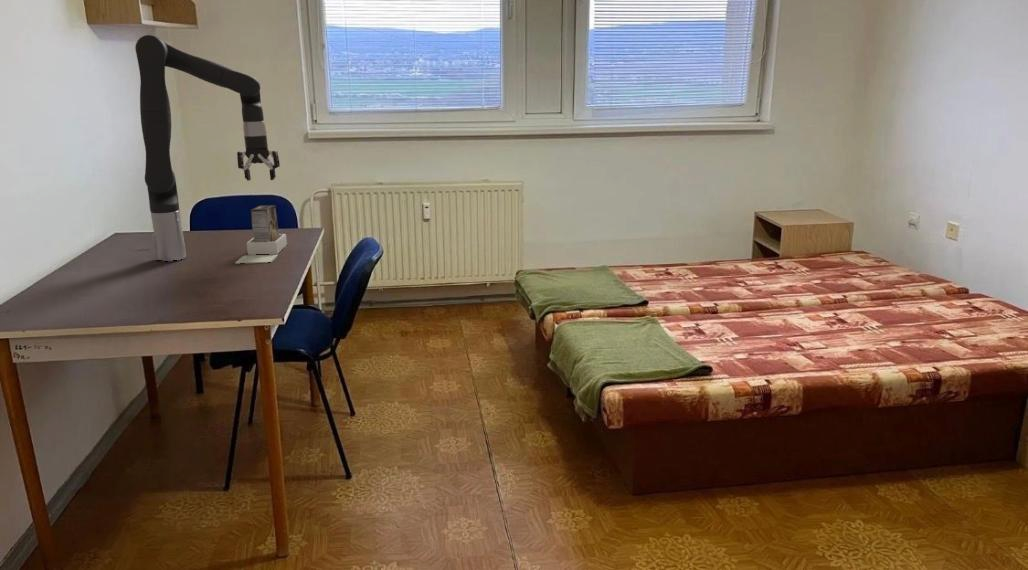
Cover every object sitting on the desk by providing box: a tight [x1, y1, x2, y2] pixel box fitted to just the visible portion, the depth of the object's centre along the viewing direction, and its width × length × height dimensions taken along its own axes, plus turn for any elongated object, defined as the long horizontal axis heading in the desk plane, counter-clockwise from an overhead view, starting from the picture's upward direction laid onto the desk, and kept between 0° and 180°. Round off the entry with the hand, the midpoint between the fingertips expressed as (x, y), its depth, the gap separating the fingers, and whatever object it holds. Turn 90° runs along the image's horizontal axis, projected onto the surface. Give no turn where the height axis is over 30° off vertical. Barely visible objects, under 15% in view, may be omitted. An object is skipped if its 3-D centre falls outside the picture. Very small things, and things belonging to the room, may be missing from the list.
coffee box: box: [249, 204, 280, 242], centre depth 267 cm, size 9×6×16 cm
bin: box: [246, 233, 288, 255], centre depth 269 cm, size 11×14×4 cm
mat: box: [235, 254, 279, 265], centre depth 256 cm, size 12×10×1 cm
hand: (260, 180), depth 263 cm, fingers open, 8 cm apart
